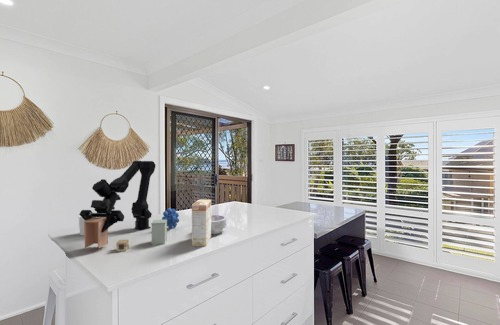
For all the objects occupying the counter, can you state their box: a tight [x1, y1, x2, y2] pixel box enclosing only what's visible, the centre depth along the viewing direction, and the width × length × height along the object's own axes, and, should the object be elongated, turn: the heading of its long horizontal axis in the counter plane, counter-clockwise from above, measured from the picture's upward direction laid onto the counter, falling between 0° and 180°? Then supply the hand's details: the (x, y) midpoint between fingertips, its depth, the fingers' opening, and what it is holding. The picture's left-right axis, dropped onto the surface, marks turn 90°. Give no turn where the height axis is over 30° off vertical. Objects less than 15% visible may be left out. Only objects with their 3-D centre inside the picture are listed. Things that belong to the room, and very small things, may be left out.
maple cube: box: [115, 238, 130, 252], centre depth 118 cm, size 4×4×4 cm
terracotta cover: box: [83, 217, 109, 249], centre depth 119 cm, size 7×7×12 cm
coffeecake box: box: [191, 198, 212, 247], centre depth 130 cm, size 15×7×20 cm, turn 178°
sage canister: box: [150, 219, 168, 245], centre depth 128 cm, size 6×6×10 cm
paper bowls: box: [211, 214, 227, 235], centre depth 146 cm, size 15×15×8 cm
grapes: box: [161, 207, 180, 229], centre depth 152 cm, size 12×7×12 cm, turn 145°
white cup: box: [78, 215, 85, 236], centre depth 141 cm, size 8×8×10 cm
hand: (94, 232), depth 117 cm, fingers closed on terracotta cover, 6 cm apart
